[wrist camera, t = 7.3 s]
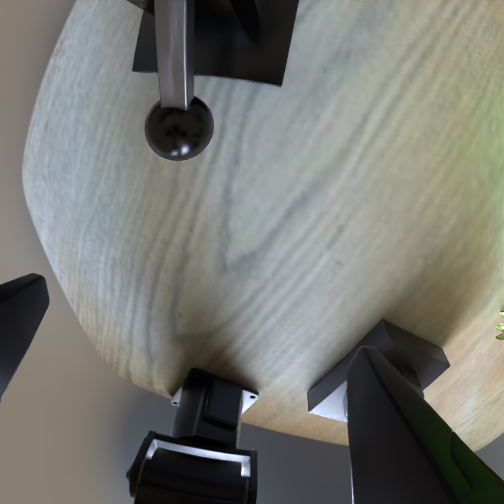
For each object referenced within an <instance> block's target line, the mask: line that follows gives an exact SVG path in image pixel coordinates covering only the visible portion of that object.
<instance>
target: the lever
mask: <svg viewBox="0 0 504 504" xmlns="http://www.w3.org/2000/svg"><path fill="white" fill-rule="evenodd" d="M154 3H155V30H156V48H157V63H158V76H159V88H160V100H159V101H158V102H157V103H155V104H154V106H153V107H152V108H151V109H150V111H149V113H148V115H147V117H146V121H145V128H144V130H145V137H146V140H147V142H148V144H149V146H150V147H151V149H152V150H153V151H154V152H155V153H156V154H158V155H159V156H161V157H163V158H165V159H168V160H172V161H183V160H188V159H191V158H193V157H195V156H197V155H198V154H200V153H201V152H202V151H203V150H204V149H205V148H206V147H207V146H208V144H209V142H210V140H211V138H212V136H213V132H214V119H213V115H212V113H211V111H210V109H209V107H208V106H207V105H206V104H205V103H204V102H203V101H202V100H201V99H199V98H198V97H196V96H194V17H195V0H154Z"/></svg>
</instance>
